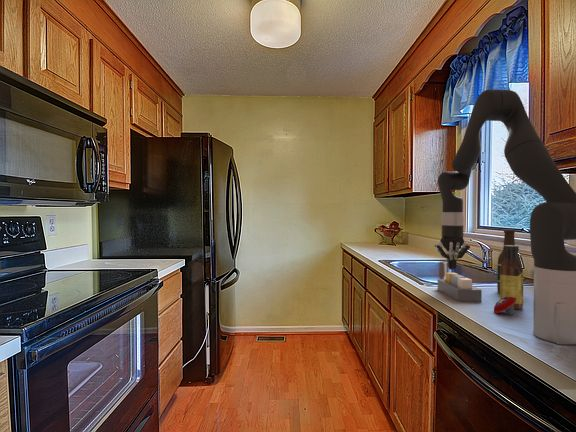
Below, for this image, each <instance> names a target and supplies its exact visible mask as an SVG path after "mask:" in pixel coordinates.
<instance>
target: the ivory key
mask: <svg viewBox="0 0 576 432" xmlns="http://www.w3.org/2000/svg"><path fill="white" fill-rule="evenodd" d="M472 286H473V279H471V278H469V277H465V278H458V287H459V288H461V289H472Z"/></svg>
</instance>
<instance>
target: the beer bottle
mask: <svg viewBox="0 0 576 432" xmlns="http://www.w3.org/2000/svg"><path fill="white" fill-rule="evenodd" d="M503 233H504V235H503V236H504V237H503V248H502V251H501V252H500V253H499V255H498V257H497V282H496V283H497V285H496V286H497V287H496V288H497V293H498V294H500V266H501V264H502V263H503V261H504V245H514V246H516V244H515V243H516V242H515V233H516V231H515V229H508V228H506V229H504V230H503ZM518 259H519V262H520V264H522V263H521V257H520V255H519V254H518Z"/></svg>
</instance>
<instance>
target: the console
mask: <svg viewBox="0 0 576 432" xmlns="http://www.w3.org/2000/svg"><path fill="white" fill-rule="evenodd" d="M437 291H439V292H441V293H443V294H444V295H446V296H448V297H449V298H451V299H454V301H456V302H482V296H483V295H482V292H483V291H482V289H480V288H478V287H476V286H474V285H472V289H461V288H459V287H458V285H453V284H451V282H447V281H446V278H445V279H442V278H440V279H439V278H437Z"/></svg>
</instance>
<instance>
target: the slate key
mask: <svg viewBox="0 0 576 432" xmlns="http://www.w3.org/2000/svg"><path fill="white" fill-rule="evenodd" d="M458 278H466V276H463V275H461V274H459V275H451V284H453V285H458Z"/></svg>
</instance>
